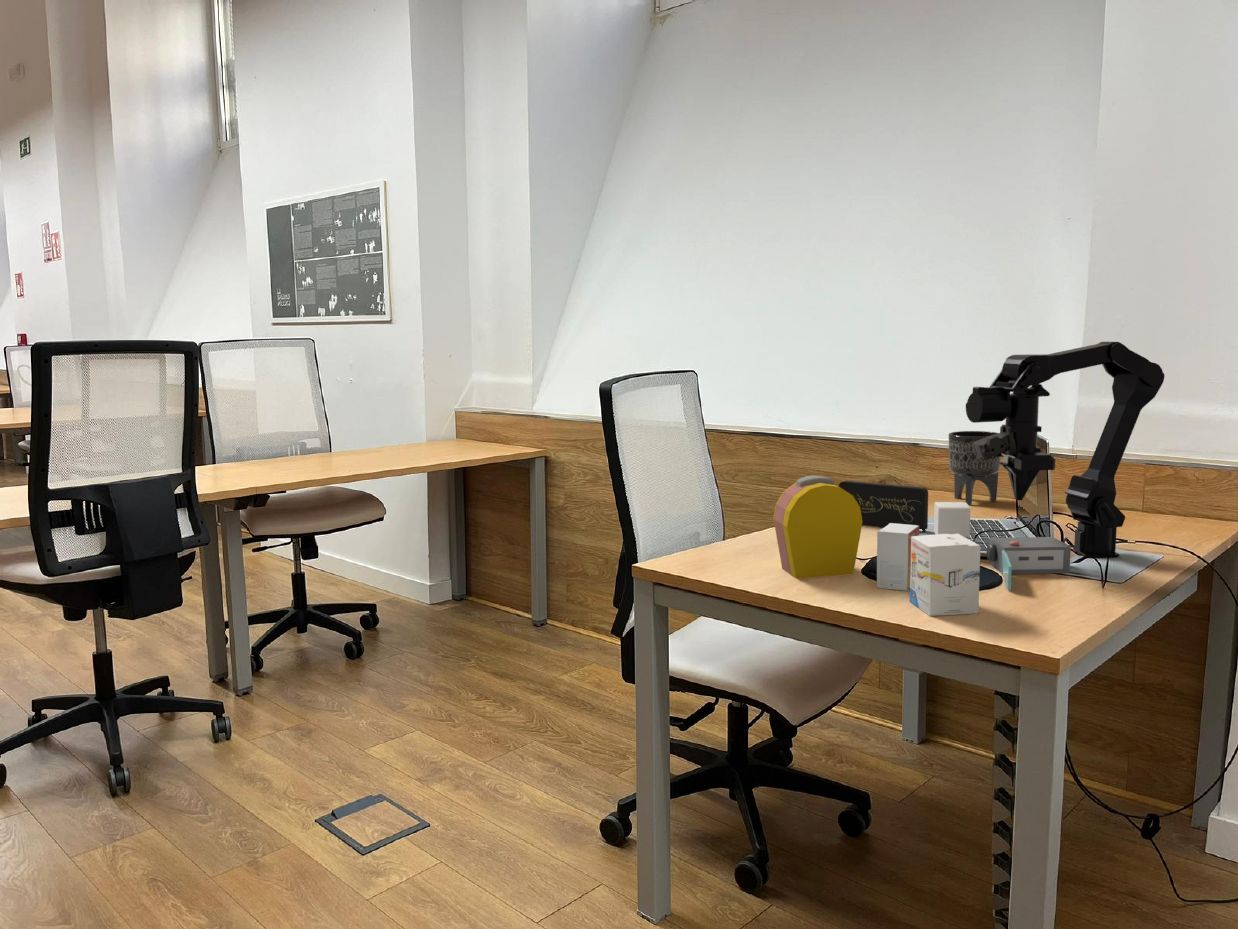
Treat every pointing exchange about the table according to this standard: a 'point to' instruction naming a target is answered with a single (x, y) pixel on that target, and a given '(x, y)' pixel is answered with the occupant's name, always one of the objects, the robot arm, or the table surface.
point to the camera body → (1030, 554)
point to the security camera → (952, 518)
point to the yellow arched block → (817, 528)
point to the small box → (895, 556)
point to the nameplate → (889, 503)
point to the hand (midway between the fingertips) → (1018, 500)
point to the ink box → (945, 574)
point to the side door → (1006, 569)
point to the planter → (971, 464)
